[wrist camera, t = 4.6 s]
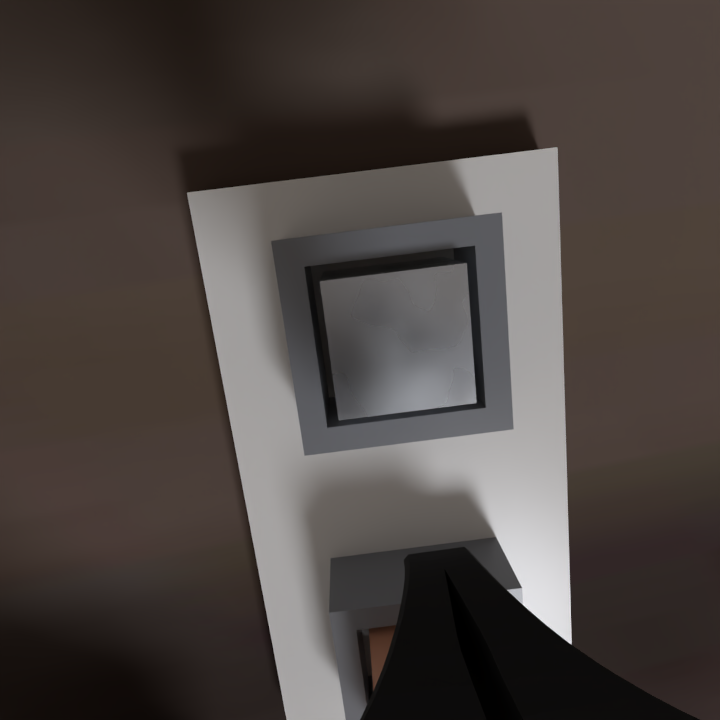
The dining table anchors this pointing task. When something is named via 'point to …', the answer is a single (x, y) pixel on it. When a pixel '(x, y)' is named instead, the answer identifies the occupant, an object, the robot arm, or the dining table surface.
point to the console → (391, 431)
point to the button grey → (399, 336)
